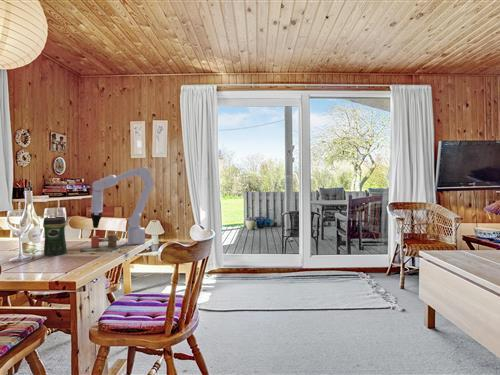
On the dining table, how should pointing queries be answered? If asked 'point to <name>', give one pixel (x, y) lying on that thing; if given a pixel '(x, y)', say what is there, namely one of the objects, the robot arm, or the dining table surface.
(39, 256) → the dining table surface
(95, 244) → the hook bolt
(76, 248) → the dining table surface
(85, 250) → the eye bracket
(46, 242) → the coffee jar
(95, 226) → the robot arm
